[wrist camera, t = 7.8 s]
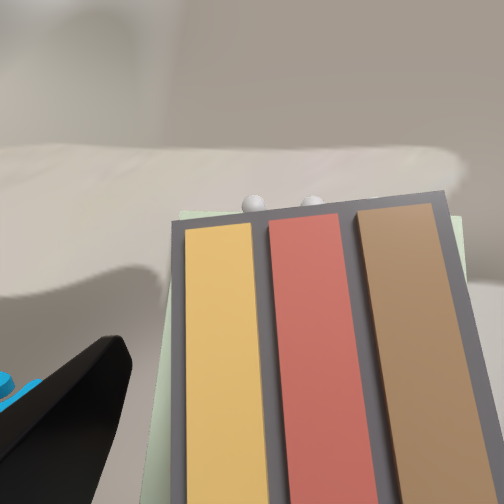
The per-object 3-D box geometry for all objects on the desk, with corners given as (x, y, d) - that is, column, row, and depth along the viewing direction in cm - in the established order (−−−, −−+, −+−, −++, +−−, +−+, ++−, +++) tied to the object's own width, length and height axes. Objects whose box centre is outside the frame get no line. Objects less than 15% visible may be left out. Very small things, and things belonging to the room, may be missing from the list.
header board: (485, 649, 13) (563, 781, 9) (137, 578, 15) (81, 659, 11) (452, 223, 17) (495, 188, 13) (186, 217, 19) (157, 186, 15)
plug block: (365, 395, 15) (531, 533, 4) (262, 400, 15) (166, 531, 5) (350, 292, 16) (448, 185, 5) (255, 300, 16) (168, 217, 6)
